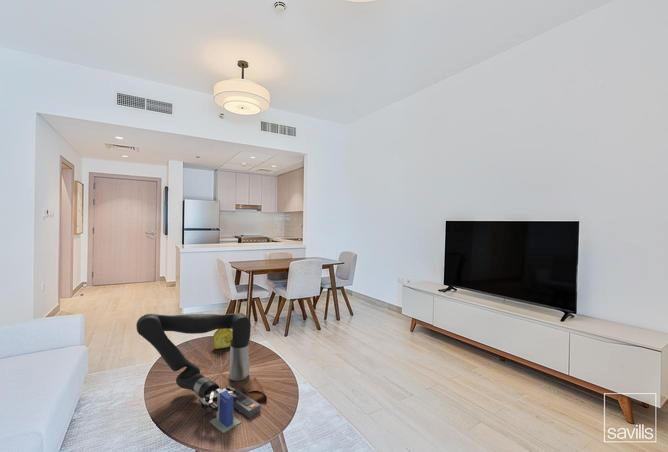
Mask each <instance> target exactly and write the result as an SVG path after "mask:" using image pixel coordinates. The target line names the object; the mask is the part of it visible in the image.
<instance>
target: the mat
mask: <svg viewBox="0 0 668 452" xmlns="http://www.w3.org/2000/svg"><path fill="white" fill-rule="evenodd" d="M209 423H210V424H212V425H213V426H214V427H215V428H216V429H218V430H219V431H220V432H221V433H222V434H225V433H227V432H228V431H230V430H232V429H233V428H234V427H236V426H238V425H240V424H241V423H242V422H241V421H240V420H239V419H238V418H236V417H235V416H234V415H233V424H232V425H230V426H228V427H226V426H225V425H223V424H222V423H221V422H220V421H219V420H217V416H216V417H214V418H213V419H211V420H209Z"/></svg>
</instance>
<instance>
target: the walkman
mask: <svg viewBox="0 0 668 452" xmlns="http://www.w3.org/2000/svg"><path fill="white" fill-rule="evenodd" d="M221 389H222V390H220V391H218V398H217V402H216V405H218V411H217V412H216V417H217V420H219V421H220V422H221V423H222V424H223V425H225V426H226V427H228V426H230V425H232V424H233V416H234V407H233V402H234V396H233V395H232V394H231V393H229V392H227V391H226V390H224V388H221Z"/></svg>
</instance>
